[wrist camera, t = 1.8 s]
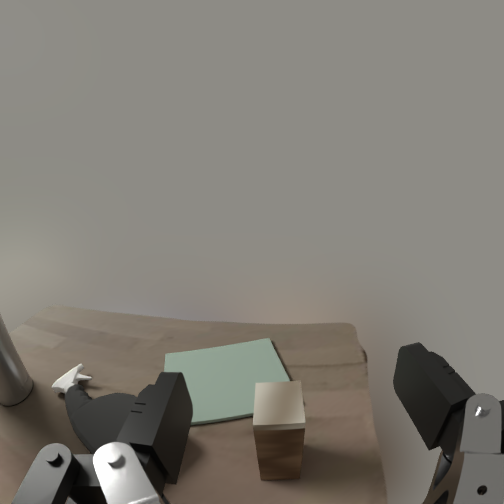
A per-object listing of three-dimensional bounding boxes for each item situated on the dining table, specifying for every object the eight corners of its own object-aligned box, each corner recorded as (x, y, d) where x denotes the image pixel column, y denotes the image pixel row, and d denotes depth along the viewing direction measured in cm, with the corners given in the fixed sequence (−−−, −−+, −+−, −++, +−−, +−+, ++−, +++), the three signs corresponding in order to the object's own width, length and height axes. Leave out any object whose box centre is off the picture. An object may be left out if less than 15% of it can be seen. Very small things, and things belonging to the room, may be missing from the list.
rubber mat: (163, 427, 29) (161, 424, 29) (166, 356, 44) (165, 353, 44) (300, 404, 32) (300, 401, 32) (269, 340, 47) (268, 337, 47)
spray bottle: (134, 492, 19) (46, 398, 31) (191, 433, 28) (90, 367, 40) (121, 481, 18) (37, 385, 30) (184, 420, 27) (83, 354, 39)
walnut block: (260, 480, 22) (252, 424, 18) (262, 445, 27) (255, 382, 23) (299, 478, 21) (305, 422, 18) (297, 443, 26) (300, 380, 23)
